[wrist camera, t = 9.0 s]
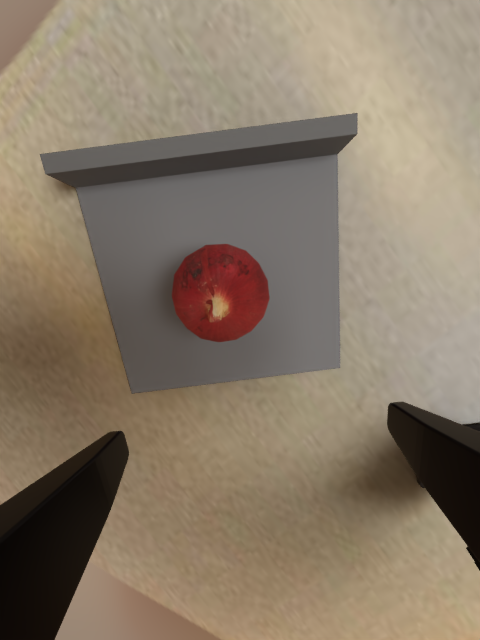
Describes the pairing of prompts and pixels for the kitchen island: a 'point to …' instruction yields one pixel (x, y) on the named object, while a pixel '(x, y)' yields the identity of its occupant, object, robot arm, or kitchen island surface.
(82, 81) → the kitchen island surface
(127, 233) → the mat
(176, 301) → the onion
